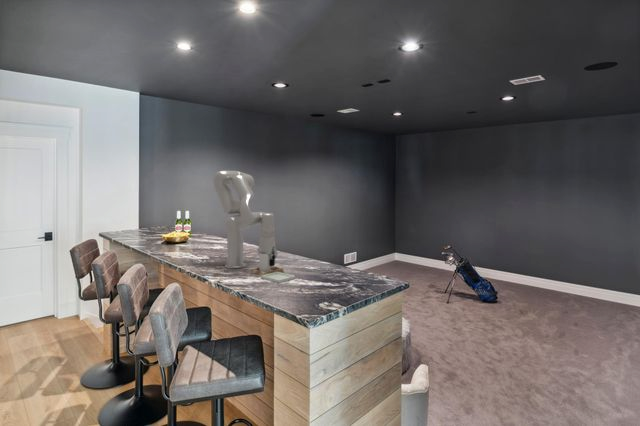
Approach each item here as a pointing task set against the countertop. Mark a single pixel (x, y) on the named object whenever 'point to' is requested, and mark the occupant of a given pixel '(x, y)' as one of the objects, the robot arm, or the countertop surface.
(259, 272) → the holder frame
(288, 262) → the countertop surface
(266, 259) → the mug
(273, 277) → the tray
